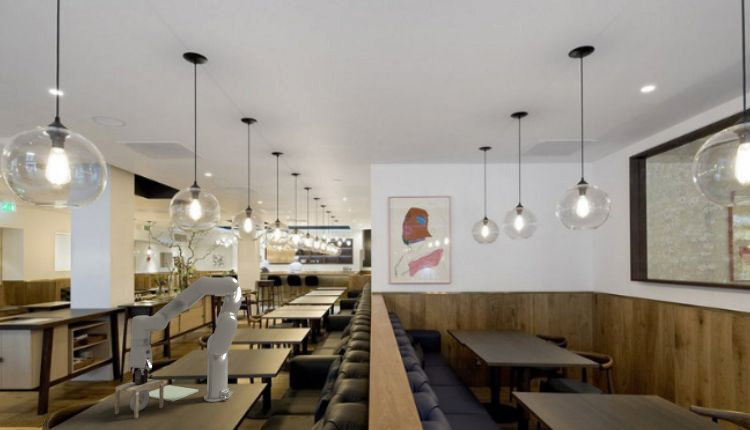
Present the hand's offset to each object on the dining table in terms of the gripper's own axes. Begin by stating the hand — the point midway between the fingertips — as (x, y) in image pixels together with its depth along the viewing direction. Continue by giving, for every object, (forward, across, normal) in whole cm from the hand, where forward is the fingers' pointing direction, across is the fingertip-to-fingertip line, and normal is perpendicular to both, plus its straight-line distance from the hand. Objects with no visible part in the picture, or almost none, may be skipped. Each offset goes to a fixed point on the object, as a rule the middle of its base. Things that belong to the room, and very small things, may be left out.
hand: (140, 382), depth 198 cm
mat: (+13, +6, -22) cm, 26 cm away
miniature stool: (+13, 0, 0) cm, 13 cm away
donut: (+13, 0, 0) cm, 13 cm away
